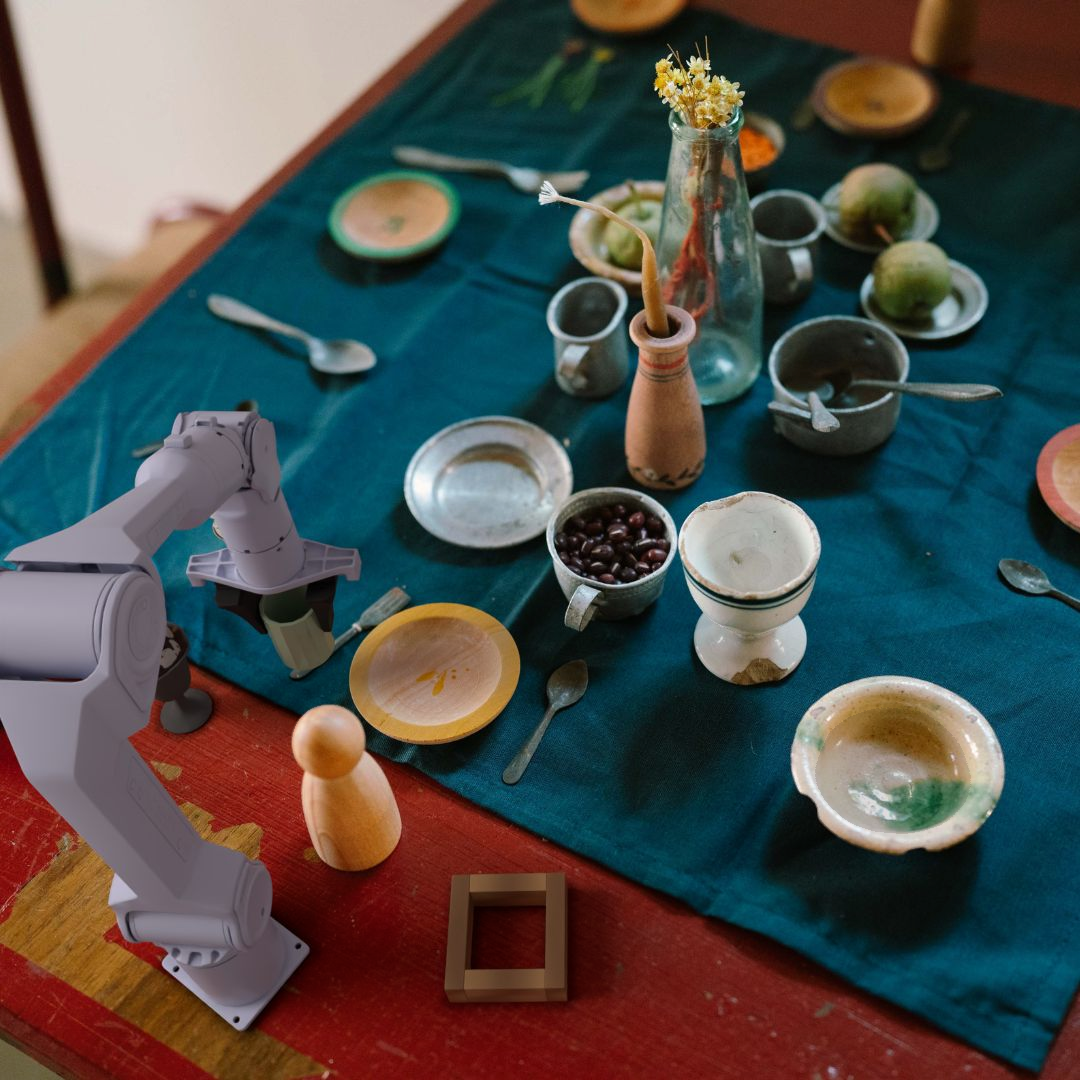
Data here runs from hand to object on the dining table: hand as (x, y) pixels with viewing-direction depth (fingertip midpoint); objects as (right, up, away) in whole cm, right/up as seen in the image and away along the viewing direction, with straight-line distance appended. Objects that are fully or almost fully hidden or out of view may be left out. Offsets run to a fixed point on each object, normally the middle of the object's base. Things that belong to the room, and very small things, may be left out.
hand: (297, 624), depth 106 cm
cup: (0, -2, +3) cm, 4 cm away
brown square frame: (+20, -25, -12) cm, 34 cm away
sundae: (-12, -9, +5) cm, 15 cm away
